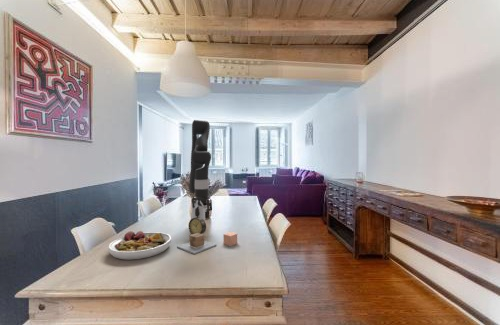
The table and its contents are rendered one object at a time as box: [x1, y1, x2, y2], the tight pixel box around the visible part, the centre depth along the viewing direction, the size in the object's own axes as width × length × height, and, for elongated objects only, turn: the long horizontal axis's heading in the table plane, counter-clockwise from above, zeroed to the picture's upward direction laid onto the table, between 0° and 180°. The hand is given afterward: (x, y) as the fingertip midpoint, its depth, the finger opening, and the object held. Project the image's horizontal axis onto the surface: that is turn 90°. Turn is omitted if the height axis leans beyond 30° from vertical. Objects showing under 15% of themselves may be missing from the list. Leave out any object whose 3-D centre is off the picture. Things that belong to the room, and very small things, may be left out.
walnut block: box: [189, 233, 205, 248], centre depth 131 cm, size 6×6×6 cm
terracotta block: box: [223, 231, 238, 247], centre depth 136 cm, size 6×6×6 cm
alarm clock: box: [188, 212, 207, 235], centre depth 148 cm, size 11×5×16 cm, turn 62°
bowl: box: [108, 230, 172, 261], centre depth 128 cm, size 30×30×8 cm
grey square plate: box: [176, 239, 217, 255], centre depth 131 cm, size 15×15×1 cm
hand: (202, 217), depth 132 cm, fingers open, 8 cm apart
